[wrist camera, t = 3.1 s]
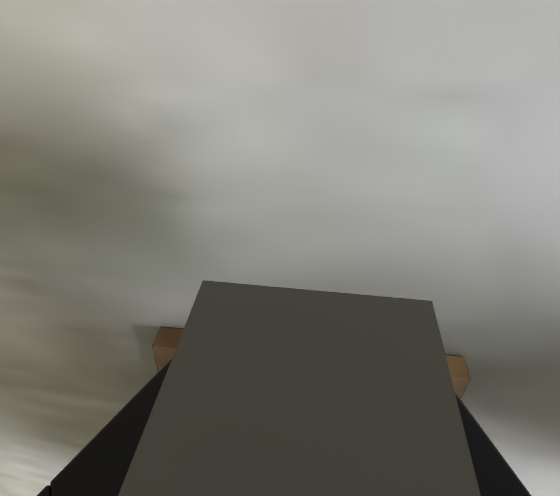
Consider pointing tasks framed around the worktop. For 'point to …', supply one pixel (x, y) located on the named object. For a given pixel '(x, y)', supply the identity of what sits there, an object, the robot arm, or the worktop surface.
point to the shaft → (304, 400)
